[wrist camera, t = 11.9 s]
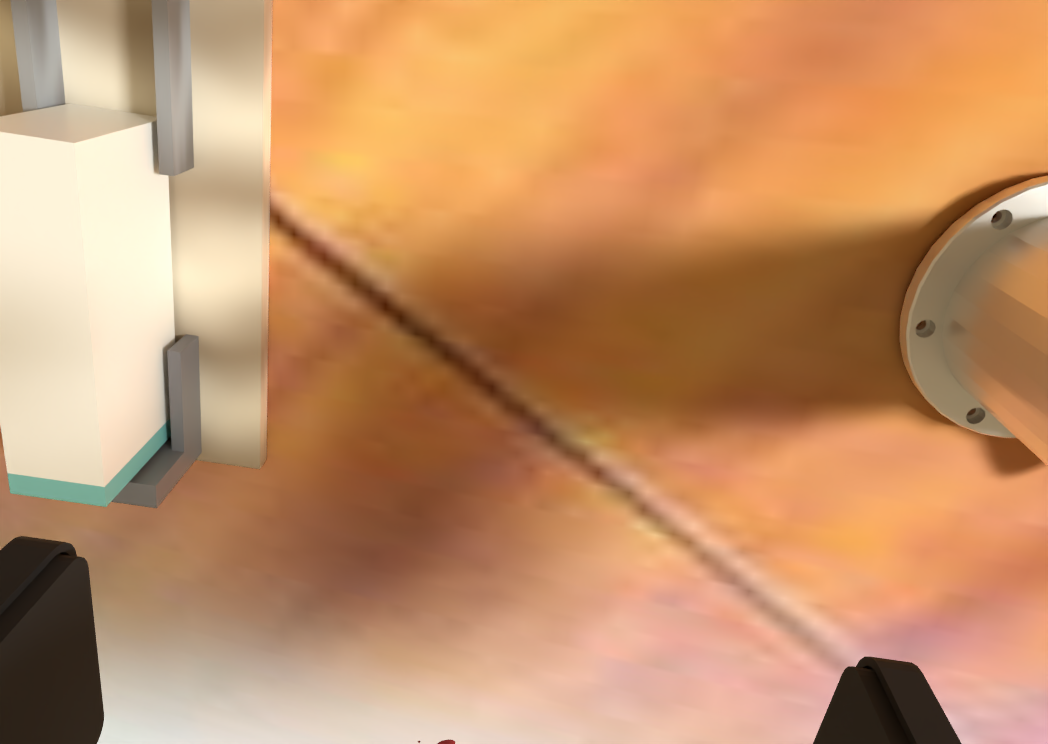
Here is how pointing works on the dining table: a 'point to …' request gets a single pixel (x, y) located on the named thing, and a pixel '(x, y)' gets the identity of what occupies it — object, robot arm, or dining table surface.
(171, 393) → the socket
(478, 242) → the dining table surface
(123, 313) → the white teal block
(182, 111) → the base
